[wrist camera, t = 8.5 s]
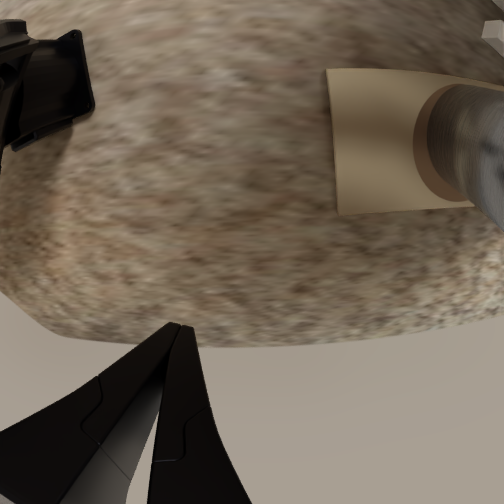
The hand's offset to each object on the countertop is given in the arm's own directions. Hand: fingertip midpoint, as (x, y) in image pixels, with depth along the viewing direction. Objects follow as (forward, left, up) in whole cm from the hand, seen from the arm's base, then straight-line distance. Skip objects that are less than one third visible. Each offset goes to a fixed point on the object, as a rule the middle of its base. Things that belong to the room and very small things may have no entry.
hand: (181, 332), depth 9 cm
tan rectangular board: (-2, +14, -12) cm, 19 cm away
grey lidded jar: (-3, +17, -11) cm, 21 cm away
